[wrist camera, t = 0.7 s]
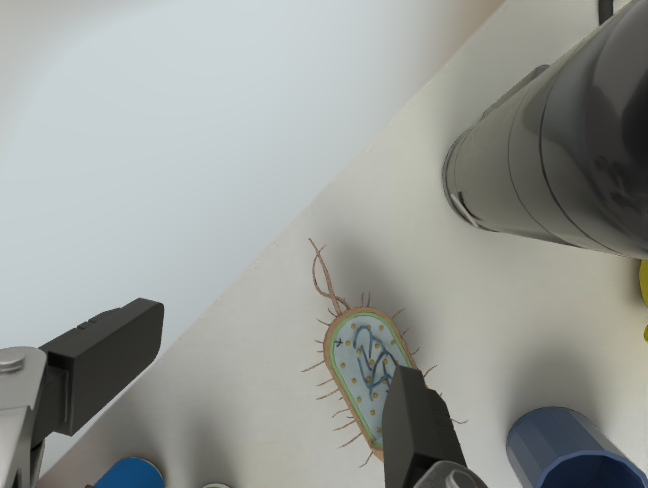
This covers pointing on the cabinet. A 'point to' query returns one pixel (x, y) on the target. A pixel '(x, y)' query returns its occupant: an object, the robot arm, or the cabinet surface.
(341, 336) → the bacterium
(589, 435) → the canister
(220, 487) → the supplement bottle
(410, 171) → the cabinet surface
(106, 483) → the beverage can
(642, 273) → the yellow cocktail cup
